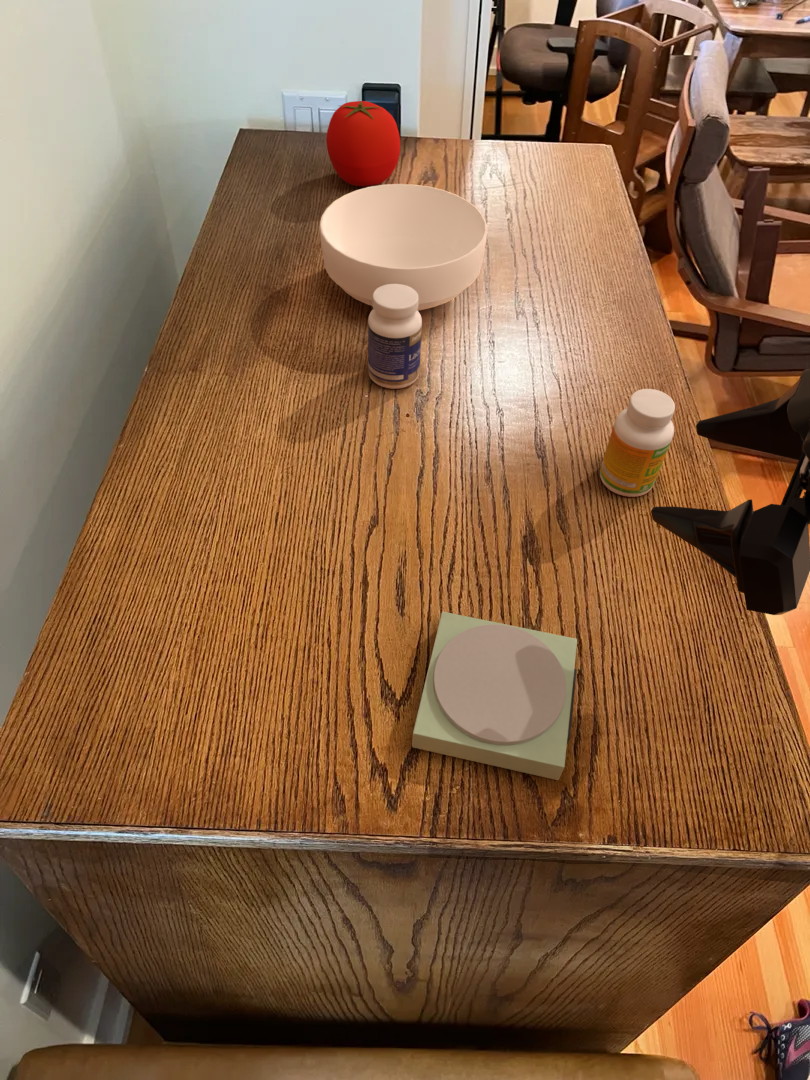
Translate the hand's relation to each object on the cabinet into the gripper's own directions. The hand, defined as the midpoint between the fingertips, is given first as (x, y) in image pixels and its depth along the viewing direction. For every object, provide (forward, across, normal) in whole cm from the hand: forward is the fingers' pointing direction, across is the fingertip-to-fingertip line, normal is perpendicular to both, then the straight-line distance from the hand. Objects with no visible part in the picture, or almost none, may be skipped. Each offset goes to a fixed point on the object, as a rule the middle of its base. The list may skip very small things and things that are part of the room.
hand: (675, 469), depth 55 cm
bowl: (+45, -28, 0) cm, 53 cm away
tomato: (+63, -49, -6) cm, 80 cm away
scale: (+10, +16, +11) cm, 22 cm away
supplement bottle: (+11, -12, +13) cm, 21 cm away
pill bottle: (+37, -13, +2) cm, 39 cm away
